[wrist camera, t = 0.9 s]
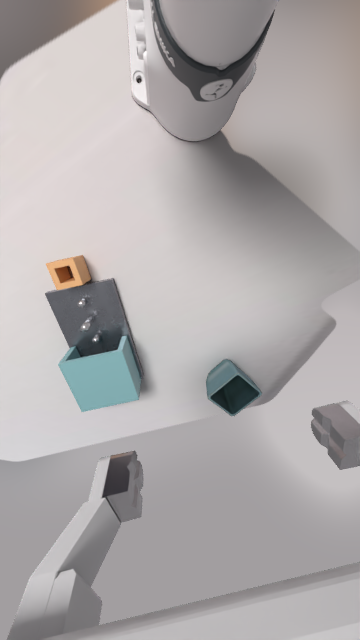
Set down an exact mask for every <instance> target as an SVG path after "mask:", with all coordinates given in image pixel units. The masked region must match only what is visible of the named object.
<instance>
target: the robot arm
mask: <svg viewBox="0 0 360 640" xmlns="http://www.w3.org/2000/svg"><path fill="white" fill-rule="evenodd" d="M278 2H279V0H126V9H127V26H128V43H129V59H130V76H131V92H132V97H133V99H134V100H135V101H136V102H137V103H138V104H139V105H141V106H142V107H144V108H145V109H147V110H149V111H151V112H152V113H153V114H154V116H155V117H156V118H157V119H158V121H159V122H160V123H161V125H162V126H163V127H164V128H165V129H166V130H167V131H169V132H170V133H171V134H173V135H174V136H176V137H178V138H180V139H183V140H187V141H200V140H204V139H207V138H209V137H211V136H213V135H214V134H216V133H217V132H218V131H219V130H221V129H222V127H223V126H224V125H225V124H226V123H227V121H228V120H229V118H230V116H231V114H232V112H233V110H234V108H235V105H236V103H237V100H238V98H239V96H240V94H241V92H243V91H244V89H245V88H246V87H247V86H248V85H249V83H250V82H251V80H252V78H253V76H254V74H255V71H256V63H255V61H256V59H257V56H258V54H259V52H260V50H261V47H262V45H263V43H264V40H265V37H266V34H267V31H268V29H269V26H270V24H271V21H272V18H273V14H274V11H275V7H276V5H277V3H278ZM137 79H141V80H142V82H141V83H137ZM312 415H313V417H314V419H313V420H312V421H311V428H312V431H313V434H314V436H315V437H316V439H317V440H318V441H319V443H320V444H321V445H323V446H325V447H326V448H328V455H329V456H330V457H331V459H332V460H333V461H334V463H335V464H336V465H337V466H338V468H339V469H340V470H342V469H347V468H351V467H357V466H360V410H359V409H358V408H357V407H355V406H354V405H353V404H352V403H351V402H349V401H343V402H339V403H333V404H329V405H325V406H321V407H317V408H314V409H313V410H312ZM142 487H143V469H142V465H141V463H140V461H137V454H136V452H135V451H131V452H126V453H121V454H117V455H111V456H107V457H102V458H100V460H99V462H98V465H97V469H96V473H95V476H94V480H93V484H92V488H91V492H90V496H89V500H88V502H84V504H83V505H82V506H81V508H80V509H79V511H78V512H77V514H76V515H75V517H73V519H72V520H71V522H70V523H69V524H68V526H67V527H66V529H65V530H64V531H63V533H62V534H61V535H60V537H59V538H58V540H57V541H56V542H55V544H54V545H53V546H52V548H51V549H50V550H49V552H48V553H47V555H46V556H45V557H44V559H43V560H42V562H41V563H40V565H39V566H38V567H37V568H36V570H35V571H34V572H33V574H32V575H31V577H30V578H29V581H28V584H27V587H26V589H25V592H24V595H23V597H22V600H21V603H20V606H19V608H18V611H17V614H16V616H15V619H14V622H13V625H12V627H11V630H10V633H9V635H8V638H7V640H360V562H357V563H353V564H349V565H345V566H341V567H337V568H333V569H328V570H324V571H321V572H316V573H312V574H308V575H304V576H300V577H295V578H291V579H287V580H283V581H279V582H275V583H271V584H267V585H263V586H258V587H254V588H250V589H246V590H242V591H238V592H234V593H230V594H226V595H221V596H218V597H213V598H209V599H205V600H201V601H197V602H193V603H188V604H185V605H180V606H176V607H172V608H168V609H164V610H160V611H155V612H151V613H147V614H143V615H139V616H135V617H131V618H127V619H123V620H118V621H114V622H110V623H106V624H102V625H99V620H100V613H101V606H102V601H101V599H100V597H99V596H98V595H97V594H96V593H95V592H94V591H93V590H92V588H91V585H92V583H93V581H94V579H95V577H96V575H97V573H98V571H99V569H100V567H101V565H102V562H103V560H104V558H105V556H106V554H107V552H108V550H109V548H110V546H111V544H112V542H113V540H114V538H115V536H116V533H117V531H118V529H119V527H120V525H121V522H125V521H129V520H132V519H136V518H140V517H141V513H142V496H141V494H140V490H141V489H142Z"/></svg>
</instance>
